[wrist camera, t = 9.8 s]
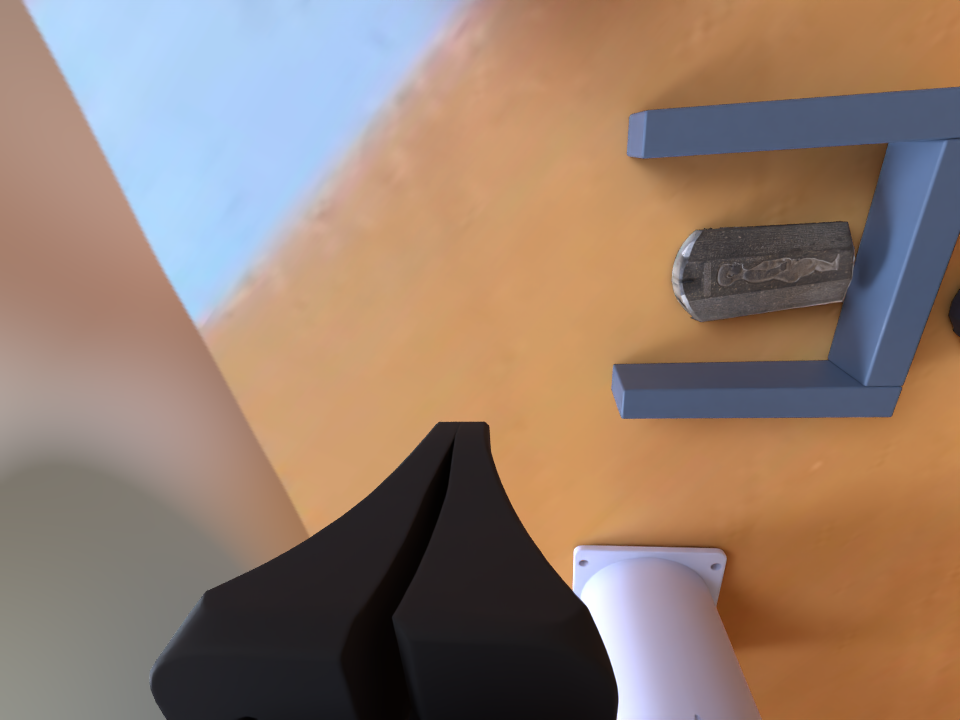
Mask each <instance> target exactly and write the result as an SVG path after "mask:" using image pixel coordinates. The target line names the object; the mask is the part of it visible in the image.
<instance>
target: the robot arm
mask: <svg viewBox="0 0 960 720" xmlns="http://www.w3.org/2000/svg"><path fill="white" fill-rule="evenodd" d="M581 560H585V561H581ZM726 561H727V557H726V555H725V553H724V551H723V550H721V549H718V548H688V547H645V546H602V545H580V546H578V547H576V548H575V550H574V565H573V591H572V590H571V589H570V587H569V586H568V585H567V584H566V583H565V582H564V581H563V580H562V578H561V577H560V576H559V575H558V573H557V572H556V571H555V570H554V569H553V567H552V566H551V565H550V564H549V562H548V561H547V560H546V558H545V557H544V556H543V554H542V553H541V551H540V550H539V548H538V547H537V546H536V544H535V543H534V541H533V540H532V539H531V537H530V536H529V534H528V533H527V531H526V529H525V528H524V526H523V524H522V523H521V521H520V519H519V518H518V516H517V514H516V512H515V510H514V509H513V507H512V505H511V503H510V501H509V499H508V496H507V494H506V492H505V490H504V488H503V485H502V483H501V480H500V478H499V475H498V473H497V470H496V467H495V464H494V461H493V457H492V454H491V445H490V430H489V425H488V424H487V423H486V422H438V423H437V424H436V425H435V426H434V427H433V429H432V430H431V431H430V432H429V433H428V434H427V436H426V437H425V438H424V439H423V440H422V441H421V443H420V444H419V445H418V446H417V447H416V448H415V449H414V450H413V452H412V453H411V454H410V455H409V456H408V457H407V458H406V459H405V460H404V461H403V462H402V463H401V464H400V466H399V467H398V468H397V469H396V470H395V471H394V472H393V473H392V474H391V475H390V476H389V477H387V478H386V479H385V480H384V481H383V482H382V483H381V484H380V485H379V486H378V487H377V488H376V489H375V490H374V491H373V492H372V493H370V494H369V495H368V496H367V497H366V498H365V499H363V500H362V501H361V502H360V503H358V504H357V505H356V506H354V507H353V508H352V509H351V510H349V511H348V512H347V513H345V514H344V515H343V516H341V517H340V518H338V519H337V520H336V521H334V522H333V523H331V524H330V525H328V526H327V527H325V528H324V529H322V530H321V531H319V532H318V533H316V534H315V535H313V536H312V537H310V538H309V539H307V540H306V541H304V542H302V543H300V544H299V545H297V546H296V547H294V548H292V549H290V550H289V551H287V552H285V553H283V554H281V555H280V556H278V557H276V558H274V559H272V560H271V561H269V562H267V563H265V564H263V565H261V566H259V567H257V568H255V569H253V570H251V571H249V572H247V573H244V574H243V575H240V576H238V577H236V578H234V579H232V580H230V581H228V582H226V583H223V584H221V585H219V586H217V587H215V588H212V589H210V590H208V591H206V592H205V593H204V595H203V596H202V597H201V599H200V600H199V601H198V603H197V604H196V605H195V607H194V608H193V609H192V611H191V612H190V613H189V615H188V616H187V617H186V619H185V620H184V622H183V623H182V625H181V626H180V627H179V629H178V630H177V632H176V633H175V635H174V636H173V637H172V639H171V640H170V642H169V643H168V645H167V646H166V647H165V649H164V650H163V652H162V653H161V654H160V656H159V657H158V659H157V660H156V662H155V664H154V665H153V667H152V669H151V671H150V688H151V691H152V694H153V696H154V699H155V701H156V703H157V705H158V706H159V708H160V710H161V711H162V713H163V715H164V716H165V718H166V719H167V720H762V718H761V716H760V714H759V711H758V709H757V706H756V704H755V701H754V699H753V696H752V694H751V691H750V689H749V687H748V684H747V682H746V679H745V677H744V674H743V672H742V669H741V667H740V665H739V662H738V660H737V657H736V655H735V652H734V650H733V647H732V645H731V643H730V640H729V638H728V635H727V633H726V630H725V628H724V625H723V623H722V620H721V618H720V616H719V613H718V611H717V608H716V606H717V601H718V597H719V592H720V588H721V584H722V579H723V575H724V570H725V566H726Z"/></svg>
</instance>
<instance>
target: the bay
mask: <svg viewBox="0 0 960 720" xmlns="http://www.w3.org/2000/svg"><path fill="white" fill-rule="evenodd" d="M878 143H888V147H887V150H886V154H885V157H884V161H883V164H882V168H881V171H880V175H879V179H878V182H877V186H876V189H875V193H874V196H873V200H872V203H871V207H870V210H869V214H868V217H867V221H866V225H865V228H864V232H863V235H862V239H861V242H860V246H859V249H858V253H857V256H856V260H855V263H854V267H853V276H852V280H851V283H850V285H849V287H848V289H847V292H846V295H845V299H844V302H843V306H842V309H841V313H840V316H839V320H838V323H837V327H836V331H835V334H834V338H833V341H832V345H831V348H830V352H829V355H828V360H818V361H763V362H707V363H652V364H614V365H613V375H612V392H613V395H614V398H615V401H616V404H617V407H618V410H619V413H620V416H621V418H623V419H643V418H819V417H891V416H892V414H893V412H894V409H895V406H896V404H897V401H898V398H899V396H900V393H901V390H902V387H901V386H902V385H903V384H904V382H905V379H906V377H907V374H908V371H909V368H910V366H911V363H912V360H913V358H914V355H915V352H916V350H917V347H918V344H919V341H920V339H921V336H922V333H923V331H924V328H925V325H926V322H927V320H928V317H929V314H930V312H931V309H932V306H933V304H934V301H935V298H936V295H937V293H938V290H939V287H940V285H941V282H942V279H943V277H944V274H945V271H946V268H947V266H948V263H949V260H950V258H951V255H952V252H953V249H954V247H955V244H956V241H957V239H958V236H959V233H960V87H948V88H935V89H922V90H908V91H895V92H882V93H869V94H855V95H842V96H829V97H815V98H802V99H789V100H775V101H762V102H749V103H736V104H722V105H709V106H696V107H682V108H669V109H656V110H646V111H642V112H638V113H634V114H631V115H630V117H629V130H628V145H627V155H628V156H630V157H637V158H643V159H645V158H661V157H676V156H692V155H707V154H723V153H739V152H754V151H770V150H785V149H801V148H816V147H832V146H847V145H863V144H878Z"/></svg>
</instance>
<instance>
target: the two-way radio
mask: <svg viewBox="0 0 960 720" xmlns="http://www.w3.org/2000/svg"><path fill="white" fill-rule="evenodd" d="M949 318H950V320H951V322H952V325H953V327H954V328H953V331H954V332H955V333H956V334H957V335H958V336H960V289H959V291H958V293H957V294H956V296H955V297H954V299H953V301H952V304H951V308H950V311H949Z"/></svg>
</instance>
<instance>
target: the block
mask: <svg viewBox="0 0 960 720" xmlns="http://www.w3.org/2000/svg"><path fill="white" fill-rule="evenodd" d="M704 229H705V228H704ZM854 249H855V248H854V246H853V242H852V237H851V233H850V229H849V224H848V222H843V221H836V222H822V223H805V224H787V225H770V226H754V227H753V226H751V227H724V228H723V227H722V228H721V227H720V229H712V228H710V229H708V230H707V229H706V230H695V231H694V232H693V233H692V234H691V235H690V236H689V237H688V238H687V240H686V241H685V242H684V243H683V245H682V246H681V248H680V250H679V251H678V254H677V256H676V258H675V262H674V265H673V271H672V285H673V290H674V293H675V296H676V298H677V300H678V301H679V303H680V304H681V306H682V307H683V308H684V309H685V310H686V311H687V312H688V313H689V314H690V315H691V316H692V317H691V318H692V319H695V320H697V321H700V322H704V321H712V320H719V319H726V318H733V317H740V316H747V315H753V314H761V313H767V312H773V311H779V310H786V309H794V308H801V307H809V306H815V305H823V304H828V303H835V302H843V299H844V296H845V294H846V291H847V289H848V287H849V285H850V283H851V280H852V276H853V266H854V259H855V257H854V252H855V251H854Z"/></svg>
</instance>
